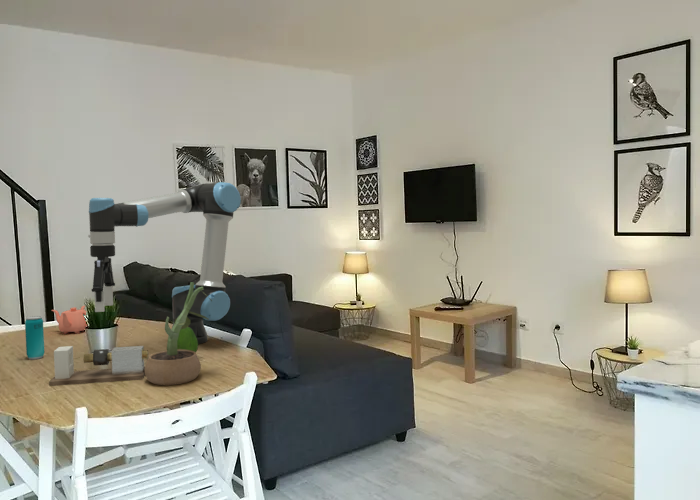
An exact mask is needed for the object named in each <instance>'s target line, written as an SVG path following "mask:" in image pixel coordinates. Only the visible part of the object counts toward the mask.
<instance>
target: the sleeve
mask: <svg viewBox="0 0 700 500" xmlns="http://www.w3.org/2000/svg"><path fill="white" fill-rule="evenodd" d="M144 347H145V346H144V345H136V346H135V345H134V346H118V347H116V346H115V347H113V348H112V350H111V351H110V352H112V361H111V369H112V375H119V374H133V373H143V371H144V367H145V359H142V350H145V348H144Z"/></svg>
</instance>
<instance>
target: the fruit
mask: <svg viewBox="0 0 700 500" xmlns="http://www.w3.org/2000/svg"><path fill="white" fill-rule="evenodd" d="M198 348H199V344H198V341H197V338H196V336H195V334H194V332H193V330H192V329H191V328H190V327H187V328H184V329H180V332H179V336H178V340H177V350H179V349H181V350H191V351H194V352H196V353H197V351H198Z"/></svg>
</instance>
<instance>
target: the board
mask: <svg viewBox="0 0 700 500" xmlns="http://www.w3.org/2000/svg"><path fill="white" fill-rule="evenodd" d="M145 377H146V376H145V366H144V371H143V373H133V374H119V375H112V368H104V369H88V370H87V369H86V370H74V374H73V375H72V376H71V377H70V378H67V379H55V376H53V377H52V378H51V379H50V381H49V382H48V386H49V385H52V386H64V385H77V384H78V385H79V384H80V385H81V384H93V383H95V384H96V383H107V382H121V381H135V380H143V379H144V378H145Z"/></svg>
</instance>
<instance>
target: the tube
mask: <svg viewBox="0 0 700 500" xmlns="http://www.w3.org/2000/svg"><path fill="white" fill-rule="evenodd" d="M148 358H149V350H148V349H146V350H145V349H144V350H142V359H144V360H148ZM110 362H112V352H111V351H110V349H109V348H104V349H103V348H102V349H101V348H100V349H94V350H93V353H92V352H91V353H90V352H89V353H84V354H83V363H84V364H85V363H92V364H93V366H94V367H95V366H106V365H107V366H108V365H109V364H110Z"/></svg>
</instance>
